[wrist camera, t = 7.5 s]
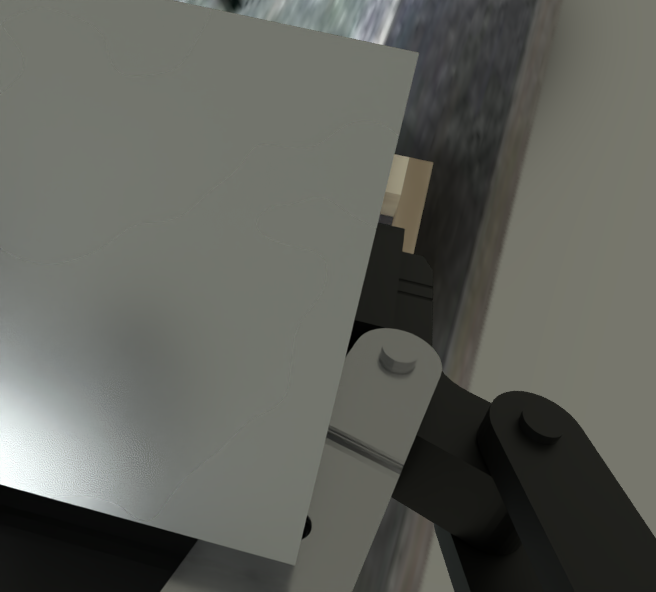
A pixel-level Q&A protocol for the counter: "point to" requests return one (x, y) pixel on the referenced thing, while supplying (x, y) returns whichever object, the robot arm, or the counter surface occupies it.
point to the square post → (183, 256)
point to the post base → (407, 196)
